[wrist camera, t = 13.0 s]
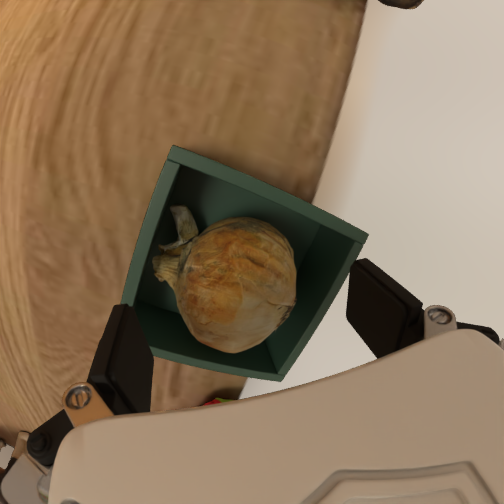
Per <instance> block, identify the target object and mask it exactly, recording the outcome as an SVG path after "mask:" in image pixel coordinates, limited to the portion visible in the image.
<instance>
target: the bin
mask: <svg viewBox="0 0 504 504" xmlns="http://www.w3.org/2000/svg"><path fill="white" fill-rule="evenodd" d="M177 203H179V204H184V205H186V206H187V207H188V209H189V210H190V211H191V213H192V216H193V218H194V220H195V223H196V226H197V229H198V232H199V233H198V236H199V235H200V234H201V233H202V232H203V231H204V230H205V229H206V228H208V227H209V226H210V225H211V224H213V223H215V222H217V221H219V220H222V219H225V218H229V217H252V218H256V219H259V220H262V221H264V222H267V223H269V224H270V225H272V226H273V227H274V228H276V229H277V230H278V231H279V232H280V233H281V234H283V235H284V236H285V237H286V239H287V240H288V242H289V244H290V247H291V248H292V249H293V252H294V264H295V268H296V273H297V274H296V296H295V297H296V299H297V301H296V304H295V305H294V307H293V309H292V311H291V312H290V314H289V316H288V318H287V319H286V320H285V321H284V322H283V323H282V324H281V325H279V326H278V328H277V329H276V332H275V330H274V331H273V332H272V333H271V334H270V335H269V336H268V337H267V338H266V339H264V340H263V341H262V342H261V343H260V344H258V345H255V346H253V347H251V348H249V349H247V350H244V351H241V352H238V353H228V352H223V351H220V350H218V349H215V348H212V347H210V346H207V345H205V344H203V343H201V342H199V341H198V340H197V339H196V338H195V337H194V336H193V335H192V334H191V332H190V331H189V329H188V327H187V325H186V323H185V322H184V320H183V318H182V315H181V313H180V311H179V309H178V307H177V300H176V295H175V292H174V290H173V288H172V287H171V286H170V285H169V284H168V282H167V281H166V280H164V281H162V282H160V281H159V278H157V277H156V276H155V275H154V273H155V270H154V269H153V265H154V264H153V263H152V260H153V257H155V256H158V255H161V252H160V250H159V248H158V245H163V246H165V245H168V244H170V243H173V242H175V241H177V239H178V235H179V234H178V232H177V229H176V224H175V221H174V217H173V214H172V212H171V210H170V207H171V206H172V205H173V204H177ZM368 236H369V234H367V233H366V232H364V231H362V230H360V229H359V228H357V227H355V226H353V225H351V224H349V223H347V222H345V221H344V220H342V219H340V218H338V217H336V216H334V215H332V214H330V213H328V212H326V211H324V210H322V209H320V208H318V207H316V206H314V205H312V204H310V203H308V202H306V201H304V200H302V199H300V198H298V197H296V196H293V195H291V194H289V193H287V192H285V191H283V190H281V189H279V188H276V187H274V186H272V185H270V184H268V183H265V182H263V181H261V180H259V179H256V178H254V177H252V176H250V175H247V174H245V173H243V172H240V171H238V170H236V169H233V168H231V167H229V166H226V165H224V164H221V163H219V162H216V161H214V160H211V159H209V158H206V157H204V156H201V155H199V154H196V153H194V152H191V151H189V150H186V149H183V148H181V147H178V146H175V145H172V147H171V149H170V152H169V154H168V156H167V160H166V161H165V164H164V166H163V169H162V171H161V174H160V176H159V179H158V182H157V184H156V187H155V190H154V192H153V195H152V198H151V201H150V203H149V206H148V209H147V212H146V215H145V218H144V221H143V224H142V227H141V230H140V234H139V237H138V240H137V243H136V247H135V250H134V253H133V257H132V261H131V264H130V268H129V271H128V275H127V279H126V283H125V287H124V291H123V295H122V300H121V304H126V303H127V304H128V305H129V307H130V306H132V307H133V308H134V310H135V313H136V315H137V318H138V320H139V323H140V325H141V328H142V330H143V333H144V335H145V338H146V340H147V342H148V345H149V347H150V349H151V351H152V354H153V356H156V357H159V358H163V359H167V360H170V361H174V362H178V363H182V364H186V365H190V366H195V367H199V368H203V369H208V370H213V371H218V372H223V373H228V374H233V375H239V376H244V377H250V378H257V379H264V380H270V381H278V382H281V381H282V380H283V379H284V377H285V375H286V374H287V373H288V371H289V370H290V368H291V367H292V365H293V364H294V363H295V361H296V359H297V358H298V357H299V355H300V354H301V352H302V351H303V349H304V348H305V346H306V344H307V343H308V341H309V340H310V338H311V337H312V335H313V333H314V332H315V330H316V329H317V327H318V325H319V324H320V322H321V321H322V319H323V317H324V315H325V314H326V312H327V311H328V309H329V307H330V306H331V304H332V302H333V300H334V299H335V297H336V295H337V294H338V292H339V290H340V288H341V287H342V285H343V283H344V281H345V279H346V278H347V276H348V273H349V272H350V266H351V265H352V264H353V262H354V261H355V260H356V259H357V257H358V255H359V253H360V251H361V249H362V247H363V244H365V242H366V240H367V237H368Z"/></svg>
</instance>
